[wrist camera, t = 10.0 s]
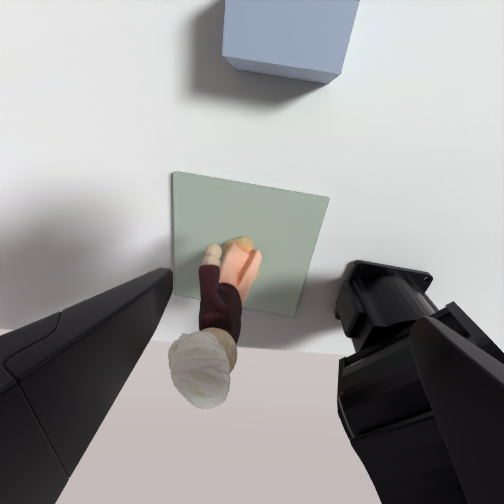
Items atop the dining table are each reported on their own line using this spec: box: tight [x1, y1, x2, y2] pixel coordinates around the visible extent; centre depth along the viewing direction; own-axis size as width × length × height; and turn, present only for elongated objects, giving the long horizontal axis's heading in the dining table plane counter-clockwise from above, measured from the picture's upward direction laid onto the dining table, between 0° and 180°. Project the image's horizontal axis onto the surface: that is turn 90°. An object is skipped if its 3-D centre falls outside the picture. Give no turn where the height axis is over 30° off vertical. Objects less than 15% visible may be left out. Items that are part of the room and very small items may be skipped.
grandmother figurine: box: [168, 236, 262, 409], centre depth 16 cm, size 8×4×13 cm, turn 19°
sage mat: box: [173, 171, 329, 317], centre depth 22 cm, size 12×12×1 cm
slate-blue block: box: [222, 0, 360, 84], centre depth 13 cm, size 6×4×4 cm, turn 82°
